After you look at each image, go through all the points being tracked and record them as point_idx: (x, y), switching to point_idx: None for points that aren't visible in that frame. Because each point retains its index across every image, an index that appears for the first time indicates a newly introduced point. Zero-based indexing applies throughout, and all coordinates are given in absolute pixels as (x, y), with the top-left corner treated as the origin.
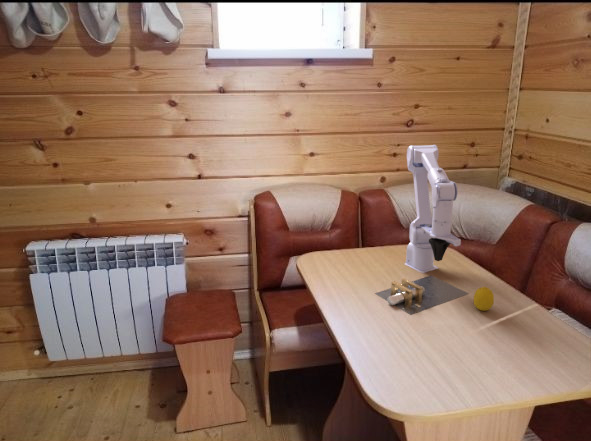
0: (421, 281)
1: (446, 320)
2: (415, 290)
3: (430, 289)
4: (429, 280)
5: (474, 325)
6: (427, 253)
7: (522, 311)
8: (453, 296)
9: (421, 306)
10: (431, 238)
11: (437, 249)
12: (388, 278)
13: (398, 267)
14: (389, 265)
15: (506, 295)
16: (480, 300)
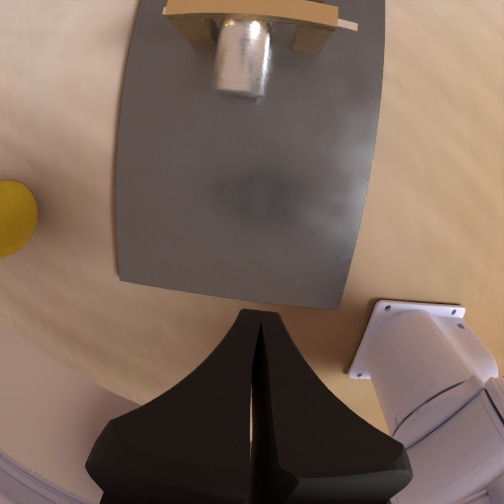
0: (334, 221)
1: (60, 49)
2: (229, 28)
3: (245, 178)
4: (313, 261)
5: (8, 112)
6: (405, 388)
7: (12, 294)
8: (131, 205)
9: (162, 17)
10: (384, 500)
11: (214, 383)
12: (457, 150)
13: (471, 274)
14: (497, 262)
15: (81, 352)
16: None
